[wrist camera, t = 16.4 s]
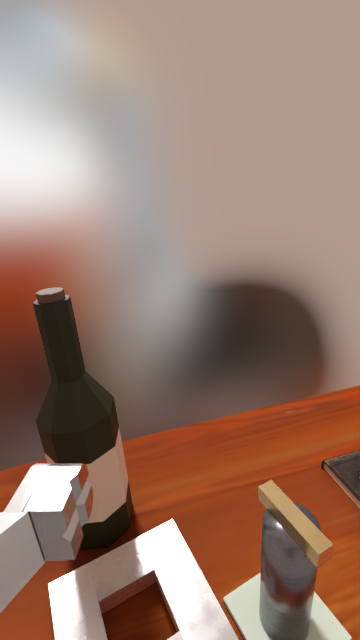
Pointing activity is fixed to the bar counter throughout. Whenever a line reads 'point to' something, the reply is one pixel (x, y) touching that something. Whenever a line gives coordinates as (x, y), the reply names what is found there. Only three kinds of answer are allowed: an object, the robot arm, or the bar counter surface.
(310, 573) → the t key
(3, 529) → the robot arm
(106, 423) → the wine bottle
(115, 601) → the plate
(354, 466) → the hardcover book
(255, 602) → the coaster
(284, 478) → the bar counter surface
